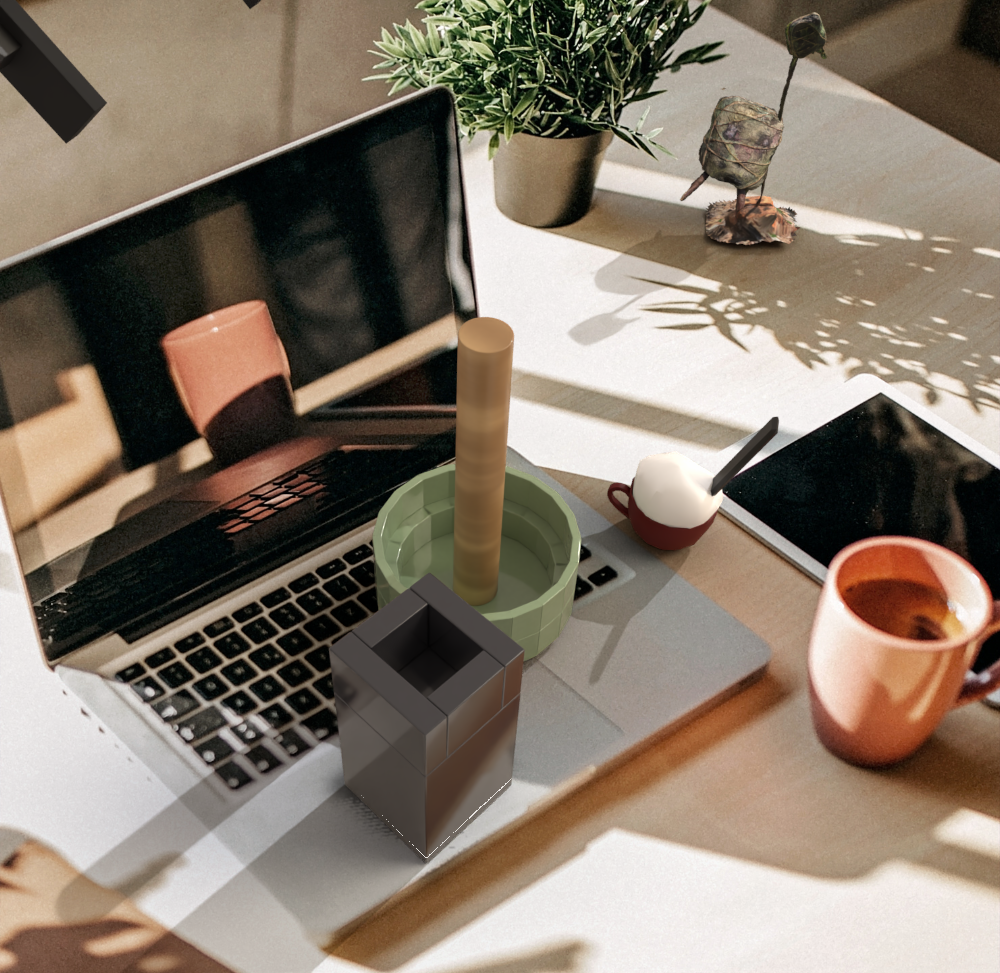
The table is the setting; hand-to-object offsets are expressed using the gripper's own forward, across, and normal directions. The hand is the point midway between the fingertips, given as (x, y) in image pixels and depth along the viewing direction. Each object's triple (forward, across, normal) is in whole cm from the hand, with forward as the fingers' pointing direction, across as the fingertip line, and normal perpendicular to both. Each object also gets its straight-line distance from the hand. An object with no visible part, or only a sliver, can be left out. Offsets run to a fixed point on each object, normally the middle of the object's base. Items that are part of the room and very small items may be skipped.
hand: (186, 52), depth 50 cm
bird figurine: (+38, -56, -15) cm, 69 cm away
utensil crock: (+38, +9, -16) cm, 42 cm away
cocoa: (+43, -16, -11) cm, 47 cm away
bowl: (+35, -5, -18) cm, 40 cm away
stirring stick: (+35, -5, -18) cm, 39 cm away
